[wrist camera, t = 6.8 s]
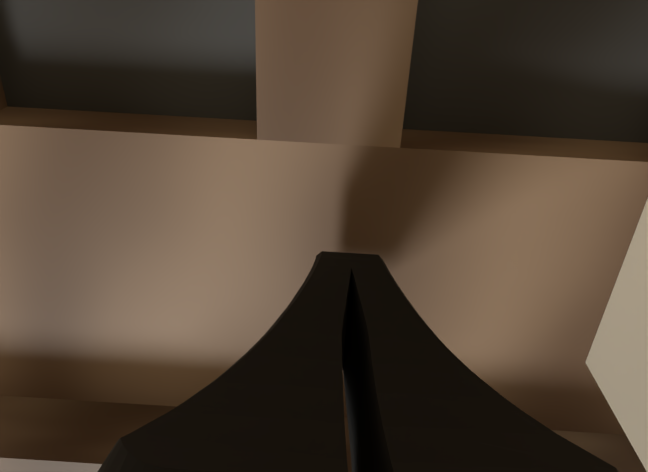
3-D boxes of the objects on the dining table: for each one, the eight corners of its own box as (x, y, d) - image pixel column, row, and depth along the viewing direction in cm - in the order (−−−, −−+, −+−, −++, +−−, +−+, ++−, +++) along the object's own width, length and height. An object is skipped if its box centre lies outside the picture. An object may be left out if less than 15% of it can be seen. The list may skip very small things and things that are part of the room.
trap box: (1032, -40, 10) (1316, -30, 7) (746, 427, 17) (835, 536, 14) (-185, -103, 11) (-397, -120, 8) (-15, 379, 17) (-94, 476, 14)
